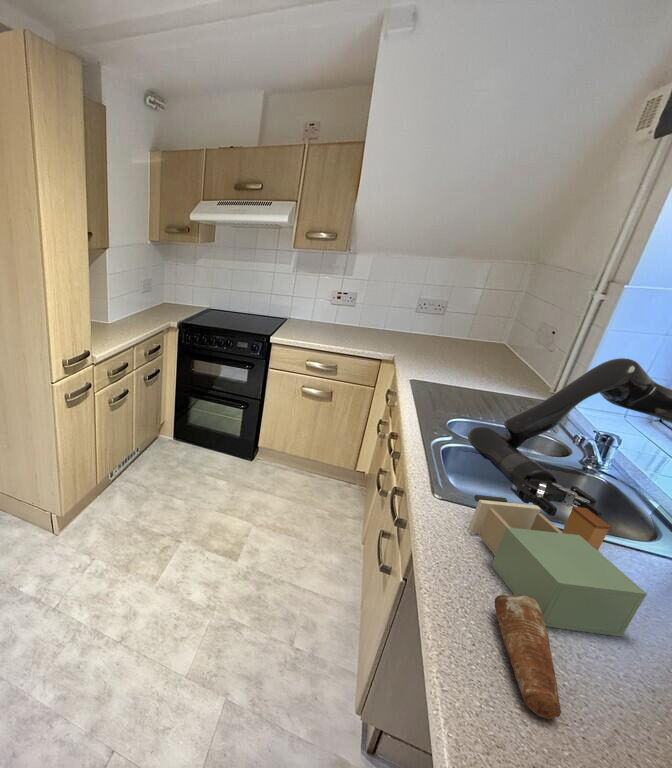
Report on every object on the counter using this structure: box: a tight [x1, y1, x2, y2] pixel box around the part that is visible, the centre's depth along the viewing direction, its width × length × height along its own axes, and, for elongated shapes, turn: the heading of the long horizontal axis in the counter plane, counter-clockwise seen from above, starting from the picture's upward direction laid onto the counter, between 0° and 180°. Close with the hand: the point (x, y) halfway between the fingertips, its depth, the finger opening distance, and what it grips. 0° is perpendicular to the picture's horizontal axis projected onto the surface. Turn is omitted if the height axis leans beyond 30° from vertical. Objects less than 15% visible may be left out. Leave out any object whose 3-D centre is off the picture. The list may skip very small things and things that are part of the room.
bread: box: [494, 594, 562, 719], centre depth 63 cm, size 6×19×6 cm, turn 148°
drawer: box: [468, 494, 562, 556], centre depth 87 cm, size 18×11×8 cm, turn 171°
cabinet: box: [491, 527, 648, 638], centre depth 74 cm, size 14×13×10 cm
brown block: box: [561, 506, 611, 552], centre depth 87 cm, size 3×6×8 cm, turn 171°
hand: (576, 514), depth 89 cm, fingers open, 8 cm apart
